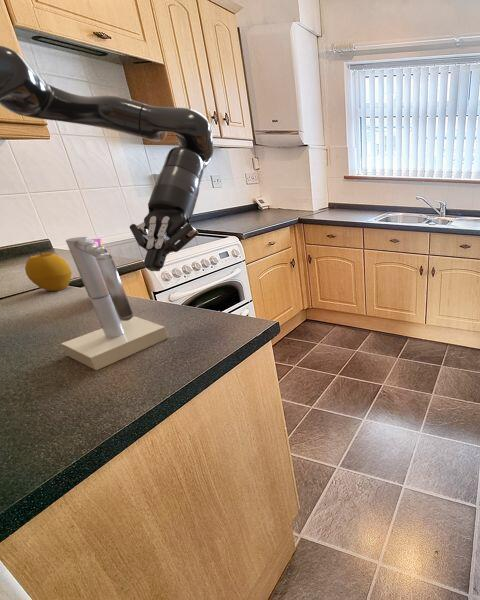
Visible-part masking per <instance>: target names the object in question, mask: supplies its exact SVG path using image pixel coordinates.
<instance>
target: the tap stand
mask: <svg viewBox="0 0 480 600" xmlns="http://www.w3.org/2000/svg"><path fill="white" fill-rule="evenodd" d="M89 300H90V302H91V305H92V307H93V310H94V312H95V314H96V315H95V316H96V317H97V320H98V322H99V324H100V327H101V328H99V329H96V330H94V331H91V332H88V333H85V334H83V335H80V336H78V337H75V338H72V339H70V340H67V341H64V342H61V346H62V348H63V350H64V353H65V354H66V356H67V357H69V358H71V359H73V360H75V361H77V362H78V363H81V364H82V365H85V366H87V367H88V368H91V369H92V370H94V371H99V370H101V369H103V368H105V367H108V366H110V365H112V364H113V363H116V362H119V361H121V360H122V359H125V358H127V357H130V356H133V355H134V354H136V353H138V352H141V351H143V350H145V349H147V348H149V347H152V346H154V345H156V344H159V343H160V342H163V341H165V340H167V339H169V335H168V332H167V330H166V327H165V326H164V325H162V324H158V323H155V322H152V321H150V320H147V319H144V318H141V317H138V316H133V317H132V318H131V319H130V320H128V321H123V320H121V319H119V317H118V315H117V312H116V310H115V307H114V304H113V302H112V299H111V297H110V294H108V295H106V296H103V297H99V298H90V297H89Z"/></svg>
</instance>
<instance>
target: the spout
mask: <svg viewBox="0 0 480 600" xmlns="http://www.w3.org/2000/svg"><path fill="white" fill-rule="evenodd" d="M89 240H90V239H89V237H88V236H78V237H71V238H67V239H66V240H65V243H66V245H67V248H68V251H69V253H70V255H71V257H72V259H73V262H74V264H75V266H76V269H77V272H78V274H79V276H80V279H81V281H82V283H83V286H84V289H85V291H86V293H87V295H88V298H89V299H90V298H99V297H103V296H106V295H108V294H110V297H111V299H112V302H113V304H114V307H115V310H116V312H117V315H118V317H119V320H120V321H128V320H130V319H131V318H132V317H134V312H133V310H132V307H131V305H130V301H129V299H128V296H127V294H126V291H125V287H124V285H123V283H122V280H121V277H120V274H119V272H118V269H117V267H116V264H115V261H114V257H113V255H111V254H110V253H109V252H108V250H107V248H106V247H105V246H104V247H101V246H98V245H96V244H93V243H90V242H89Z"/></svg>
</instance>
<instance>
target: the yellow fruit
mask: <svg viewBox="0 0 480 600" xmlns="http://www.w3.org/2000/svg"><path fill="white" fill-rule="evenodd" d="M24 271H25V274H26V276H27V278H28V279H29V281H31V282H32V283H33V284H34V285H36V286H37V287H39V288H41V289H43V290H46V291H50V292H57V291H58V292H59V291H61V290H64V289H66V288H67V287H69V284H70V283H71V280H72V270H71V267H70V265H69V264H68V262H67V261H66V260H64V258H63V257H61V256H60V255H58V254H56V253H52V252H43V253H41V252H40V253H39V254H36V255H32V256H30V257H28V259H27V260H26V263H25V266H24Z"/></svg>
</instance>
